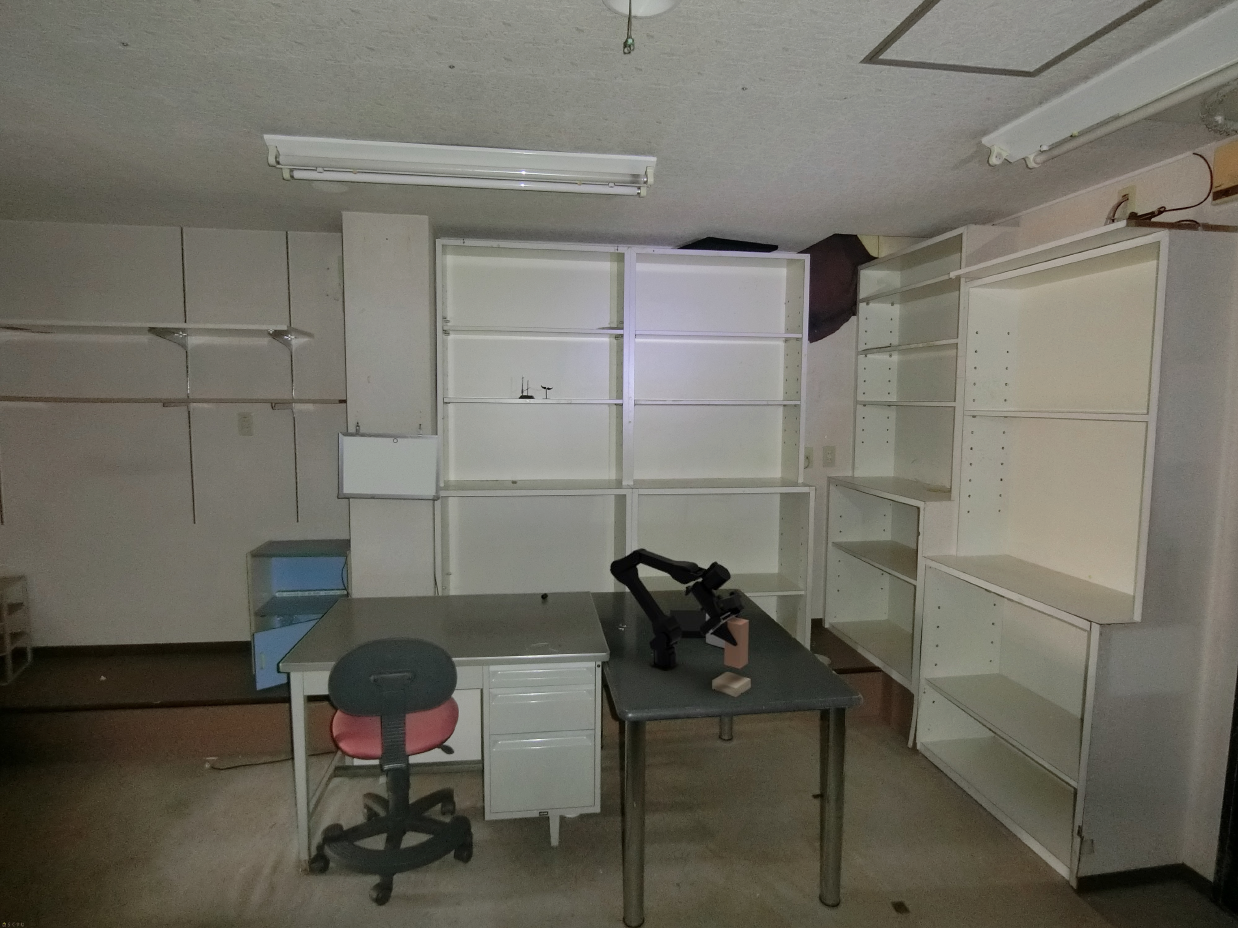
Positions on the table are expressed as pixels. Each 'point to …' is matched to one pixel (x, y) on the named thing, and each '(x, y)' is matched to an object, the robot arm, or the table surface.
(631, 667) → the table surface
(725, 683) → the slab
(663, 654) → the robot arm
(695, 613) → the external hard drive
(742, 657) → the column
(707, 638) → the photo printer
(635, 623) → the table surface
